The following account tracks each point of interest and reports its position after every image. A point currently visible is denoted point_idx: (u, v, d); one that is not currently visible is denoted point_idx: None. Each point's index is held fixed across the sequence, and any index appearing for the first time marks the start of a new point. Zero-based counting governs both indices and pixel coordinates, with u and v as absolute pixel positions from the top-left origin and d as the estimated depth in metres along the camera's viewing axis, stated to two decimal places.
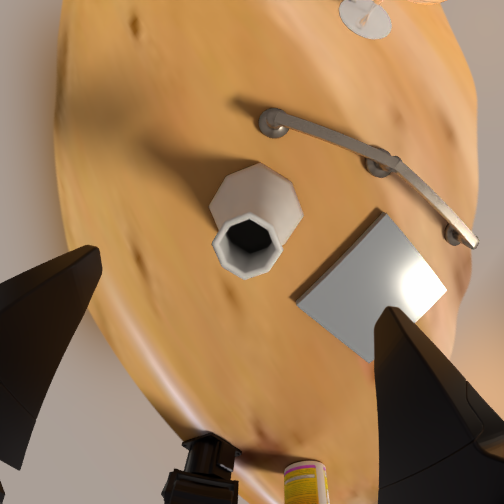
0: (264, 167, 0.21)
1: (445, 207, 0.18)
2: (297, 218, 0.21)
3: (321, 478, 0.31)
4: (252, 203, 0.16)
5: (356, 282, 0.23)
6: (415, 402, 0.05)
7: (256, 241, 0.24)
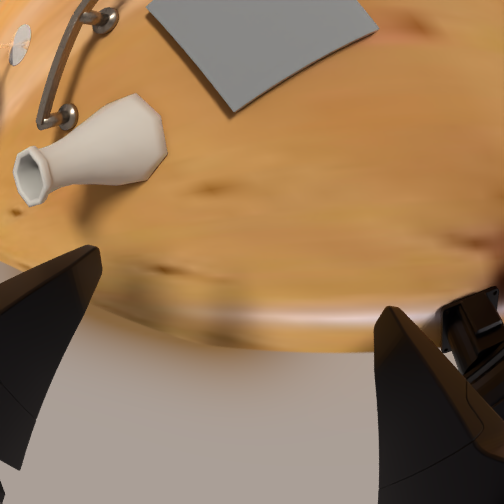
0: None
1: None
2: (118, 103, 0.16)
3: None
4: None
5: (219, 33, 0.14)
6: (415, 402, 0.05)
7: None
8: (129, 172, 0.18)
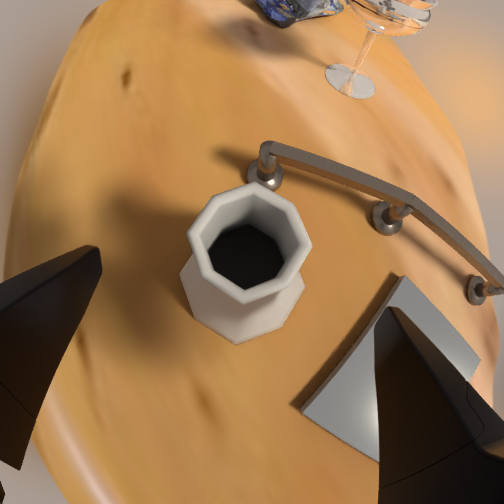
0: None
1: (470, 246, 0.15)
2: (300, 281, 0.15)
3: None
4: (248, 220, 0.11)
5: None
6: (415, 402, 0.05)
7: None
8: (213, 318, 0.14)
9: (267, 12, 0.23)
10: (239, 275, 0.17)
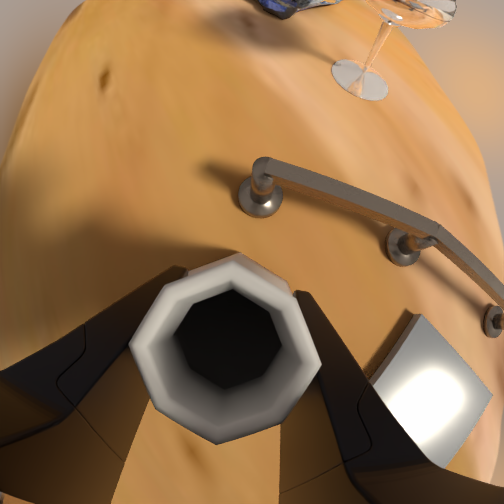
0: (246, 257, 0.14)
1: (495, 281, 0.12)
2: None
3: None
4: None
5: None
6: (302, 399, 0.05)
7: (233, 376, 0.14)
8: None
9: (263, 2, 0.20)
10: (229, 319, 0.14)
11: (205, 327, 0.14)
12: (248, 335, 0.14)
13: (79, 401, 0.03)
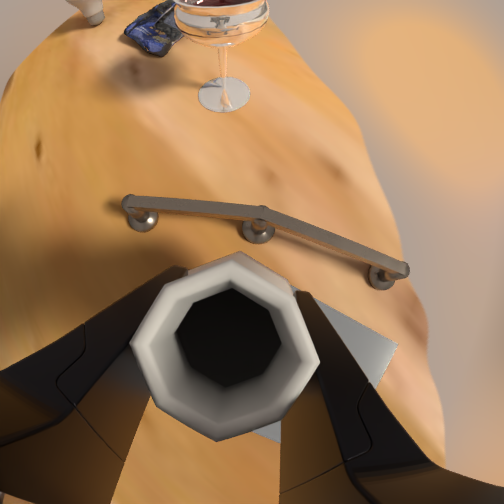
0: (246, 256, 0.14)
1: (342, 241, 0.18)
2: None
3: None
4: None
5: None
6: (302, 399, 0.05)
7: (234, 374, 0.14)
8: None
9: (145, 45, 0.25)
10: (230, 317, 0.14)
11: (206, 325, 0.14)
12: (249, 333, 0.14)
13: (79, 401, 0.03)
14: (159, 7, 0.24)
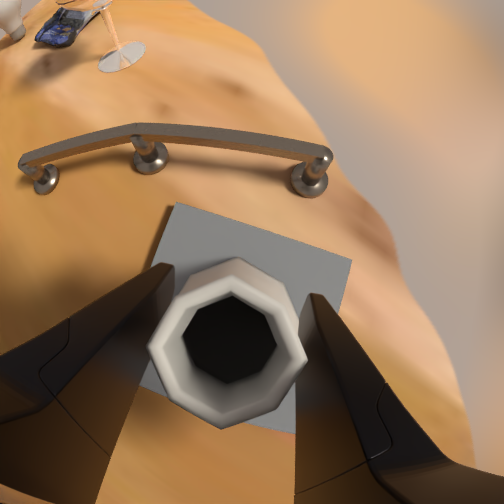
0: (245, 261, 0.15)
1: (229, 133, 0.14)
2: (297, 331, 0.13)
3: None
4: None
5: None
6: (320, 401, 0.05)
7: (234, 372, 0.15)
8: None
9: (55, 42, 0.21)
10: (230, 319, 0.15)
11: (207, 327, 0.15)
12: (248, 334, 0.15)
13: (59, 391, 0.03)
14: (61, 9, 0.19)
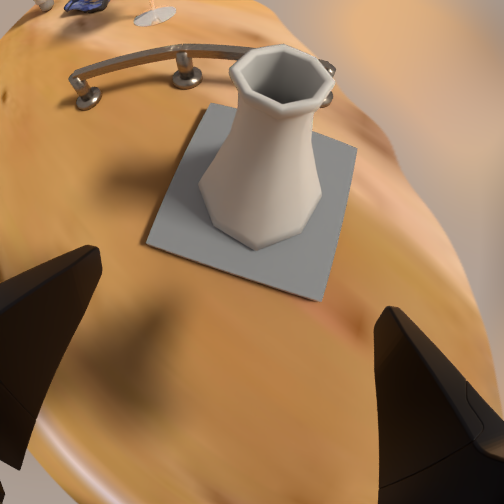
0: None
1: None
2: (318, 181, 0.15)
3: None
4: (272, 98, 0.11)
5: None
6: (415, 402, 0.05)
7: None
8: (235, 210, 0.14)
9: (85, 10, 0.22)
10: None
11: None
12: None
13: None
14: None
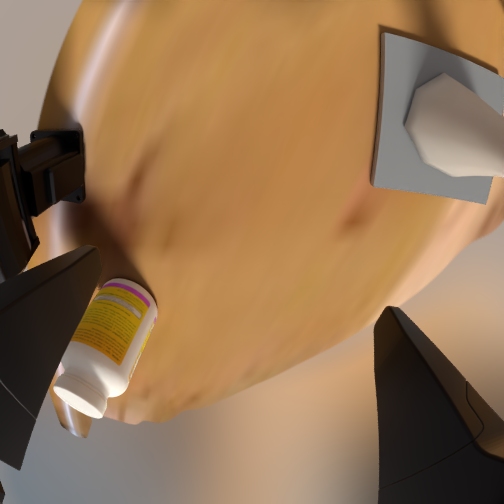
0: None
1: None
2: (464, 175, 0.14)
3: (145, 330, 0.24)
4: None
5: None
6: (415, 402, 0.05)
7: None
8: (438, 112, 0.12)
9: None
10: None
11: None
12: None
13: None
14: None
